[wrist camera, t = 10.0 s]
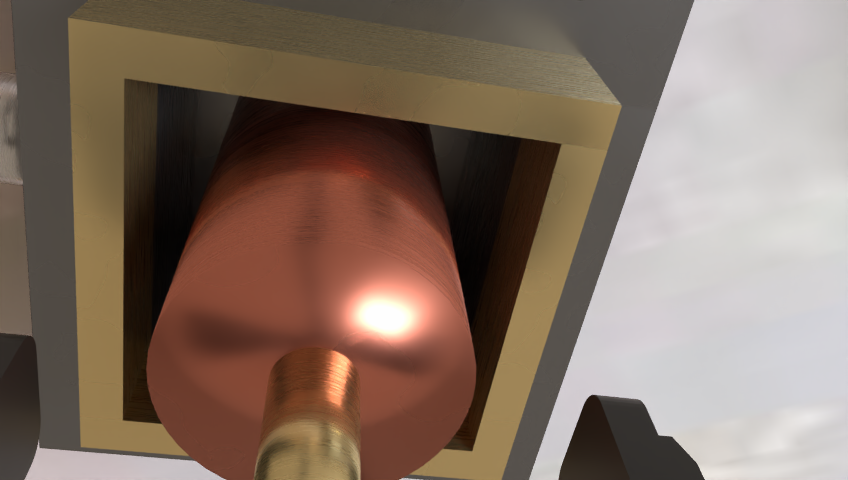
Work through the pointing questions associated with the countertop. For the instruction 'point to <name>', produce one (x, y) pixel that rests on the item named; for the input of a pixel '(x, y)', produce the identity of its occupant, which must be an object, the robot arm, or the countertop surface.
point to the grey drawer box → (339, 90)
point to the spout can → (315, 304)
